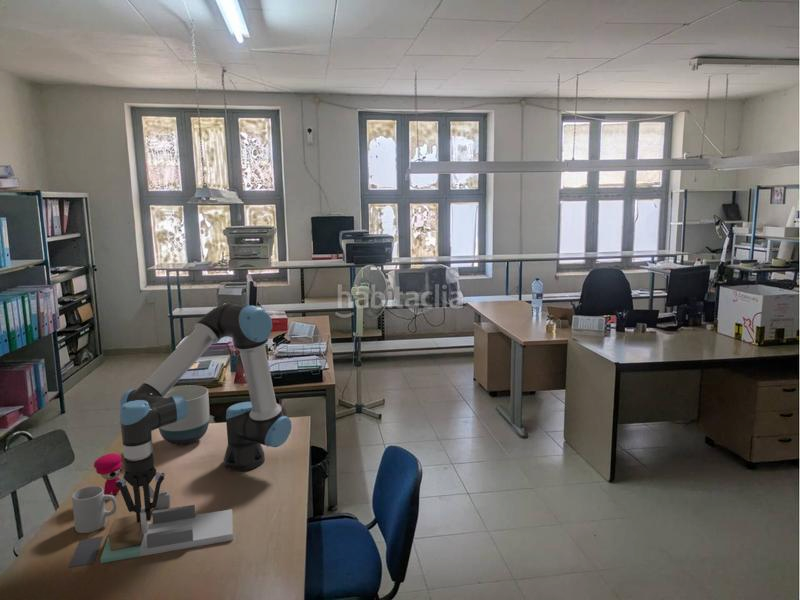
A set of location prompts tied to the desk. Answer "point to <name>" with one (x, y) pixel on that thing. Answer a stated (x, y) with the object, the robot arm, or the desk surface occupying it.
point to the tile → (119, 553)
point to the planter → (188, 416)
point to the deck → (185, 529)
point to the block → (125, 533)
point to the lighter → (161, 498)
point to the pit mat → (86, 552)
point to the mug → (91, 509)
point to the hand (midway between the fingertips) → (145, 530)
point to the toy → (109, 471)
